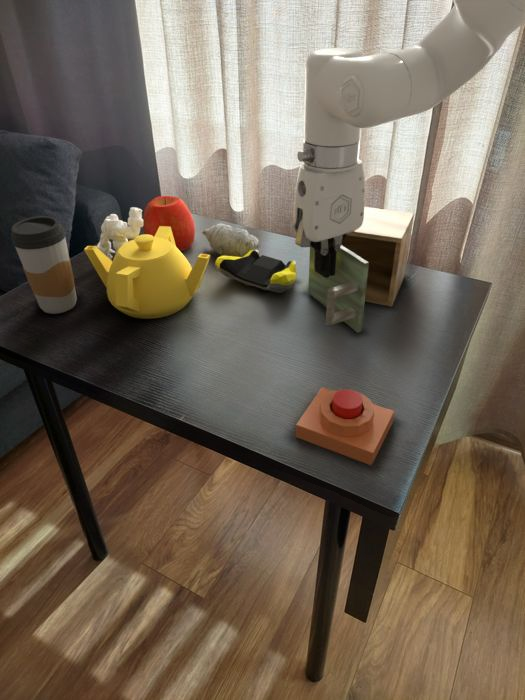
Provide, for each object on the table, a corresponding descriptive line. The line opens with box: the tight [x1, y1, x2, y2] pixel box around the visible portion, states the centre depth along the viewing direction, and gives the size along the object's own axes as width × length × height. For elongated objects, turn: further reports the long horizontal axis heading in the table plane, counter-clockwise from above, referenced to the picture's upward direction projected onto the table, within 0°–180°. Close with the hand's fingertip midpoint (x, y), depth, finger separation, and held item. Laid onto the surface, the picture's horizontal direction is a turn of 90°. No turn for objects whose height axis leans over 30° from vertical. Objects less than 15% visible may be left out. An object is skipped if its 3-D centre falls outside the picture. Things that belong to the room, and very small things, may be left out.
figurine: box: [96, 206, 144, 261], centre depth 100 cm, size 10×5×12 cm, turn 80°
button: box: [332, 388, 363, 419], centre depth 64 cm, size 4×4×2 cm
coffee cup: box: [10, 215, 78, 315], centre depth 88 cm, size 8×8×15 cm
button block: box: [295, 387, 395, 466], centre depth 66 cm, size 10×8×4 cm
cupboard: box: [341, 206, 415, 307], centre depth 93 cm, size 11×15×13 cm
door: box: [308, 245, 369, 333], centre depth 84 cm, size 6×15×12 cm, turn 29°
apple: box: [142, 195, 196, 252], centre depth 108 cm, size 11×11×11 cm
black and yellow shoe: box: [214, 250, 297, 294], centre depth 95 cm, size 15×6×10 cm
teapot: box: [83, 226, 211, 320], centre depth 90 cm, size 17×17×12 cm
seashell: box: [202, 222, 262, 257], centre depth 105 cm, size 6×14×8 cm, turn 52°
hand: (324, 273), depth 82 cm, fingers closed
